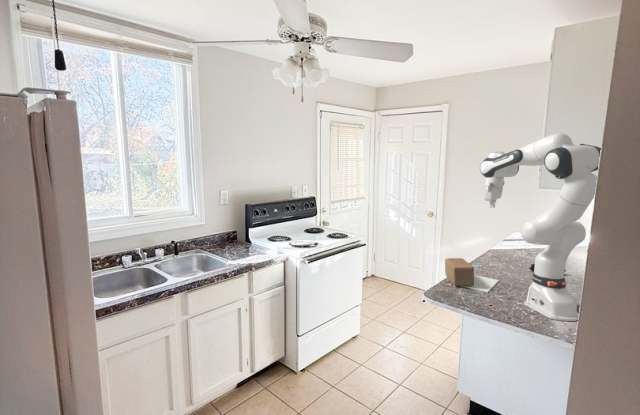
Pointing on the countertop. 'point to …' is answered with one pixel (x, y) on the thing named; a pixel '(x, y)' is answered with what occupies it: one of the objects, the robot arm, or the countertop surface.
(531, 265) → the can opener
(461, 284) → the wooden block
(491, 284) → the mat
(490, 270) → the countertop surface
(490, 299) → the countertop surface
